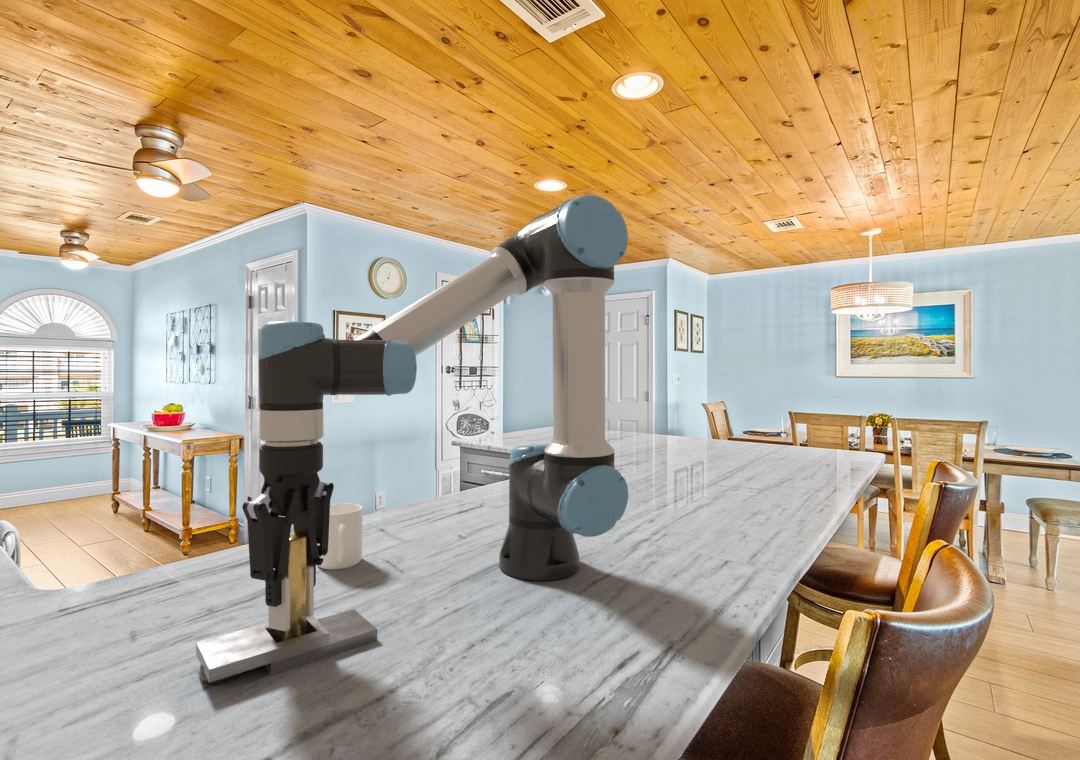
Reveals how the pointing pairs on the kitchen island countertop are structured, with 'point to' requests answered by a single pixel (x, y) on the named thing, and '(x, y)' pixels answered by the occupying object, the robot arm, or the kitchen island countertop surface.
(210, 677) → the slotted metal plate
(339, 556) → the mug
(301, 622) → the pin
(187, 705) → the kitchen island countertop surface
